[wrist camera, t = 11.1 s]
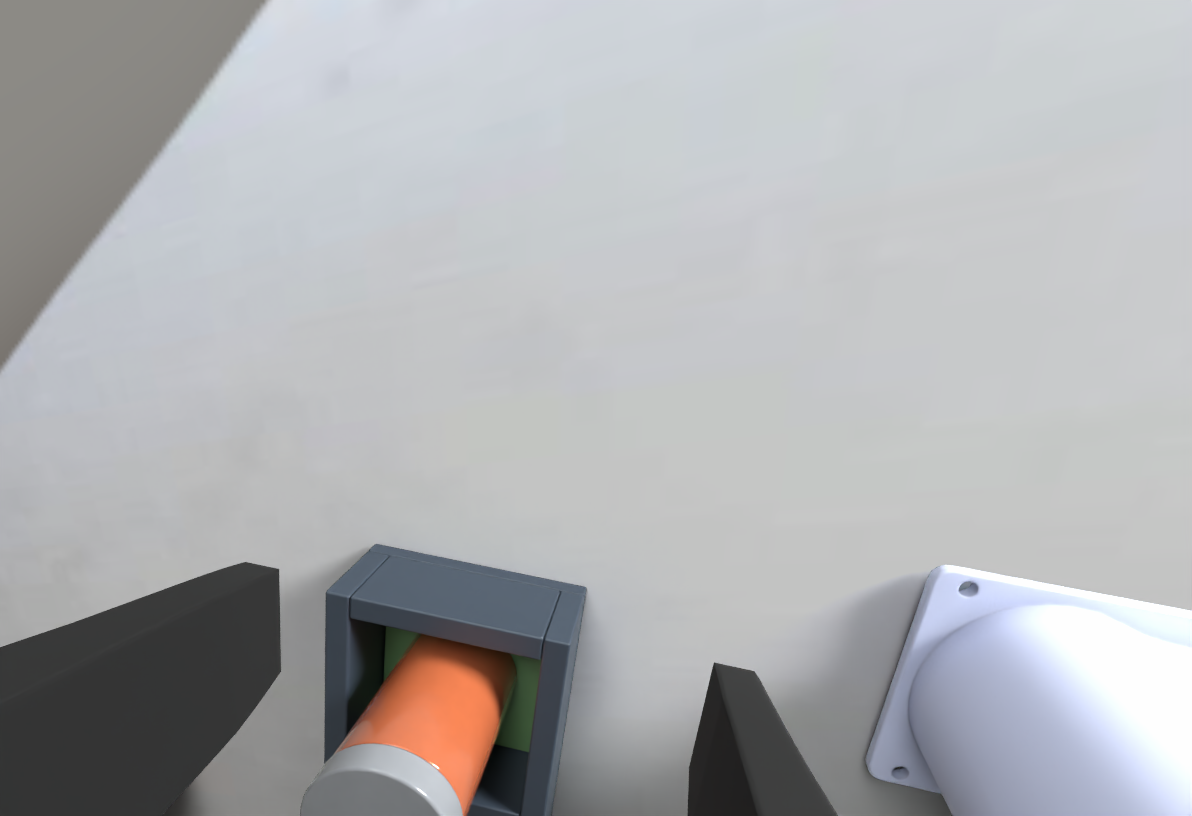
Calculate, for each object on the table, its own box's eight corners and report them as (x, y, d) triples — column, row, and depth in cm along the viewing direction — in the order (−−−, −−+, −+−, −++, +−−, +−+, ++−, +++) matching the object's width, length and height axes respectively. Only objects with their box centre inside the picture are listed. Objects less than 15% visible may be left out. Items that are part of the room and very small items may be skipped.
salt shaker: (524, 631, 19) (458, 791, 13) (512, 728, 20) (447, 913, 15) (409, 606, 20) (297, 751, 14) (404, 702, 21) (298, 873, 15)
